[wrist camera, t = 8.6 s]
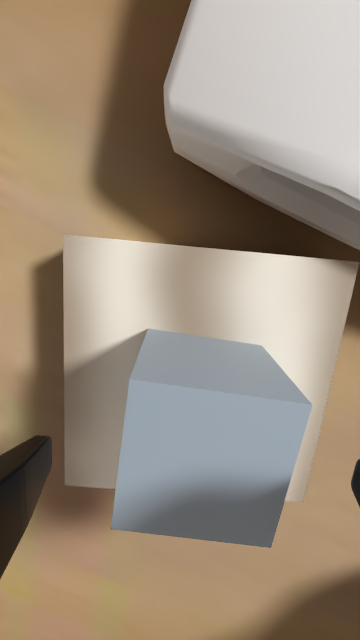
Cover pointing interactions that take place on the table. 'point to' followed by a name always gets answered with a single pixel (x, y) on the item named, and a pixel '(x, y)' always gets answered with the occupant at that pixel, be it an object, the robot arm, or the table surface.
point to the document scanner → (273, 104)
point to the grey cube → (207, 440)
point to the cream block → (189, 331)
